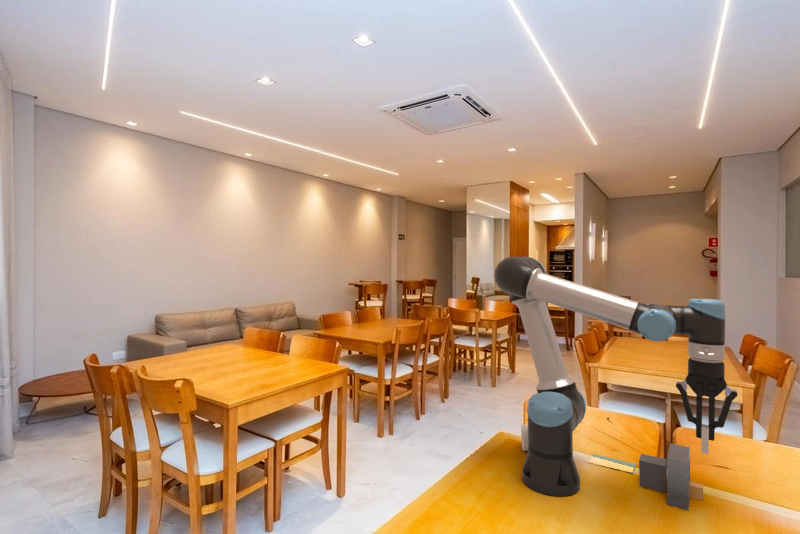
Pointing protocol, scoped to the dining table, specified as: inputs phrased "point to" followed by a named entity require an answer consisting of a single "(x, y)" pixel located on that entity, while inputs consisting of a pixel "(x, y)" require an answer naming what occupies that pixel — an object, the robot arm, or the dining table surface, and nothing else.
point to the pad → (616, 461)
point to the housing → (678, 476)
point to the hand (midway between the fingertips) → (704, 451)
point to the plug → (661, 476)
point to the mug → (524, 437)
